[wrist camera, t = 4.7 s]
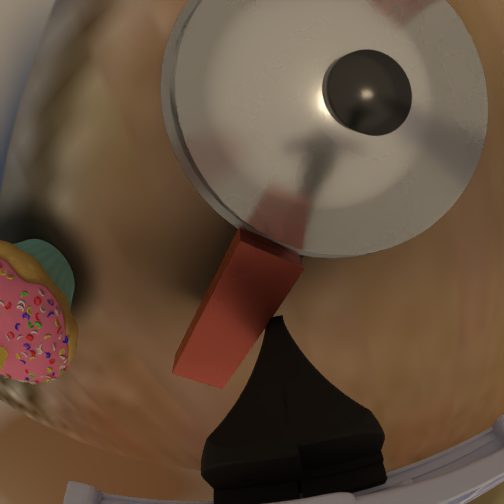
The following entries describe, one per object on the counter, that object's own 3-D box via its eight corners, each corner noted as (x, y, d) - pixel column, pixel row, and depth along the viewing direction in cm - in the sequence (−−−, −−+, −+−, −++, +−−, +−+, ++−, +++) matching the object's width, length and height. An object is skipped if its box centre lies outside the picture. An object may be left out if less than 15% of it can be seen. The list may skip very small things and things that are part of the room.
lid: (317, -131, 4) (327, -152, 2) (520, 19, 7) (546, 18, 5) (88, 319, 13) (74, 345, 11) (299, 390, 15) (304, 417, 14)
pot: (475, 24, 10) (521, 19, 7) (309, 340, 19) (321, 388, 16) (276, -95, 8) (287, -135, 4) (112, 276, 17) (87, 320, 13)
